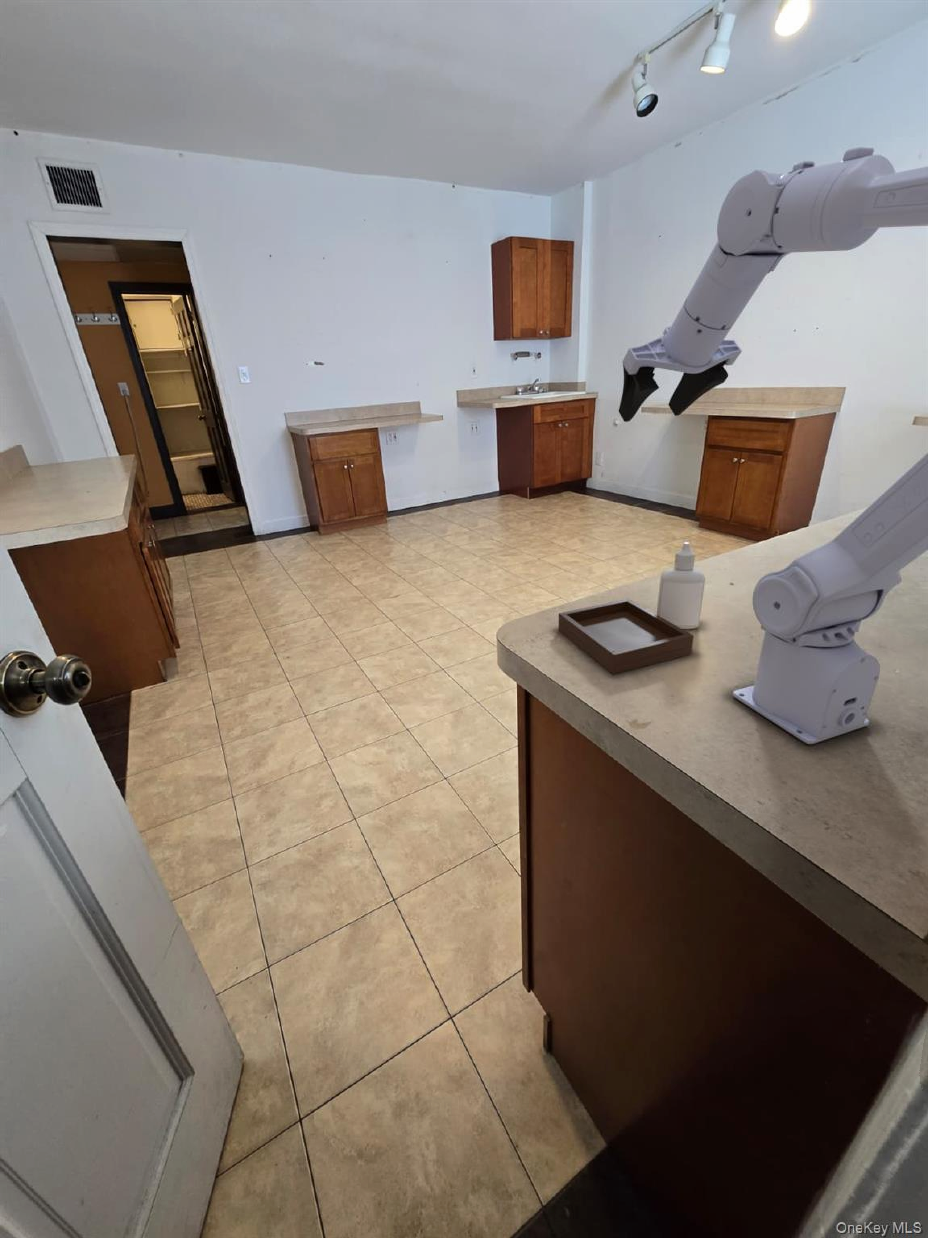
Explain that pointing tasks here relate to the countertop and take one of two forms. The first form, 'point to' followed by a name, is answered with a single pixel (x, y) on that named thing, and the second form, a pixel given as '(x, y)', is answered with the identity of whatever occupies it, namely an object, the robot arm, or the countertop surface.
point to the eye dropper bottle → (681, 591)
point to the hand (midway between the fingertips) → (649, 412)
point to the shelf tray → (624, 635)
